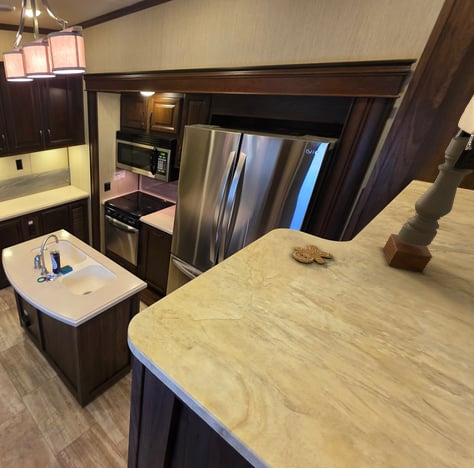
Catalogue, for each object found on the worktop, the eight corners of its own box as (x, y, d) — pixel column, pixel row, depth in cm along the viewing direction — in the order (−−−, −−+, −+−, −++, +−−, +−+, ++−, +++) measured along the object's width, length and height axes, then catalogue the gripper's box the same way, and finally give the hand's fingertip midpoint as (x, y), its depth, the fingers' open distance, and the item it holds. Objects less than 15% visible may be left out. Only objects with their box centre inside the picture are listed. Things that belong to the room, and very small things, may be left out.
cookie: (338, 256, 78) (312, 265, 75) (336, 259, 79) (310, 268, 76) (309, 241, 85) (284, 249, 82) (308, 244, 86) (283, 252, 83)
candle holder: (426, 236, 75) (486, 137, 62) (433, 248, 70) (500, 144, 57) (395, 231, 78) (446, 135, 65) (400, 242, 73) (456, 142, 60)
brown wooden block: (413, 254, 79) (423, 239, 76) (422, 272, 73) (432, 256, 70) (383, 248, 82) (391, 233, 80) (388, 265, 76) (397, 249, 73)
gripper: (572, 73, 47) (499, 179, 56) (520, 67, 59) (468, 155, 68) (503, 74, 50) (445, 174, 59) (467, 69, 62) (424, 152, 72)
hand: (458, 163), depth 64 cm, fingers closed on candle holder, 5 cm apart
